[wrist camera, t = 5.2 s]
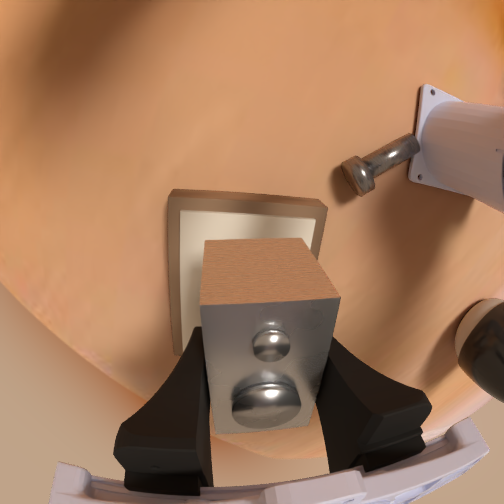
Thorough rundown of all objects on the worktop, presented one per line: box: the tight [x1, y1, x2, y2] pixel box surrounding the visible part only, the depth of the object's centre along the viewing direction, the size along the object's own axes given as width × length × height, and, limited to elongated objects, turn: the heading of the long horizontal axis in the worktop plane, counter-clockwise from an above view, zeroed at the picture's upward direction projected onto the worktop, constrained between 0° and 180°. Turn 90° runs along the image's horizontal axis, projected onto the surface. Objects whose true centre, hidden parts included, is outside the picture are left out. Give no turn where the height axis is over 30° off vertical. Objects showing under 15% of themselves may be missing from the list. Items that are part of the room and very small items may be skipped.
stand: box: [168, 189, 328, 356], centre depth 21 cm, size 10×13×2 cm
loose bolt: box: [341, 133, 420, 197], centre depth 18 cm, size 6×3×3 cm, turn 120°
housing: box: [199, 238, 341, 434], centre depth 13 cm, size 4×8×6 cm, turn 179°
